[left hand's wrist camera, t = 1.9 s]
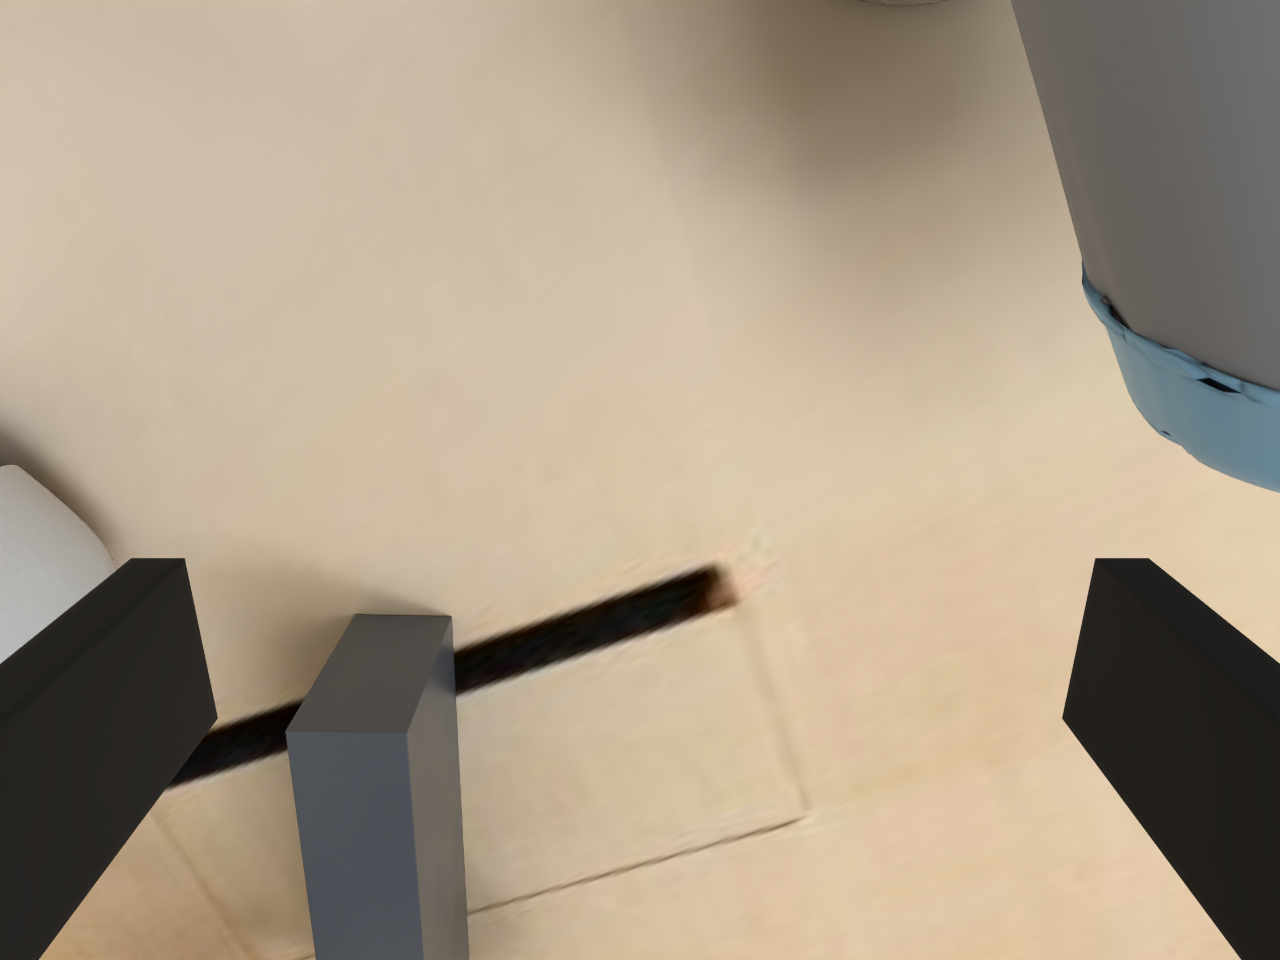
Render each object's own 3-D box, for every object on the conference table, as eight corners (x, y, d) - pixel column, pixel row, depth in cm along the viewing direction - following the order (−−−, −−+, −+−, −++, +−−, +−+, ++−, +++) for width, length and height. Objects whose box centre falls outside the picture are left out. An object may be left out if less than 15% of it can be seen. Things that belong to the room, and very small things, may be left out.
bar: (355, 614, 41) (284, 731, 33) (451, 616, 41) (406, 733, 33) (388, 961, 49) (338, 1127, 41) (469, 962, 49) (436, 1128, 41)
